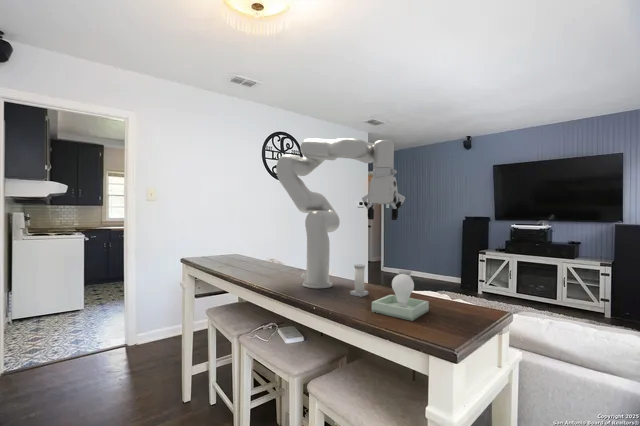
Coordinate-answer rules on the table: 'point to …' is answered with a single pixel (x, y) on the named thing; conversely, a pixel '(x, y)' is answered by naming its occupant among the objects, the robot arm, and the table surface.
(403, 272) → the post
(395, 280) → the light bulb
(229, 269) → the table surface
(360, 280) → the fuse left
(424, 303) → the tray
